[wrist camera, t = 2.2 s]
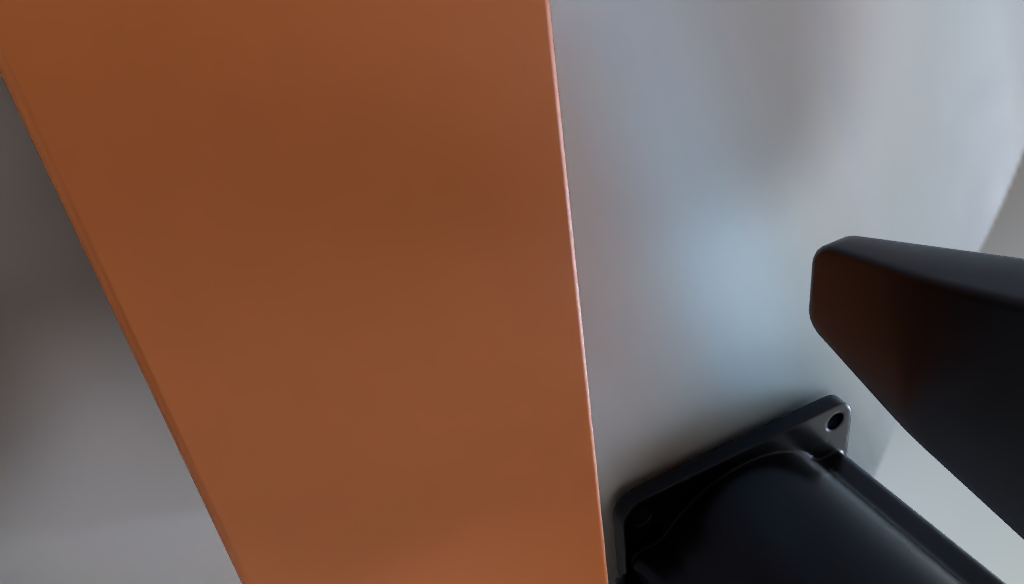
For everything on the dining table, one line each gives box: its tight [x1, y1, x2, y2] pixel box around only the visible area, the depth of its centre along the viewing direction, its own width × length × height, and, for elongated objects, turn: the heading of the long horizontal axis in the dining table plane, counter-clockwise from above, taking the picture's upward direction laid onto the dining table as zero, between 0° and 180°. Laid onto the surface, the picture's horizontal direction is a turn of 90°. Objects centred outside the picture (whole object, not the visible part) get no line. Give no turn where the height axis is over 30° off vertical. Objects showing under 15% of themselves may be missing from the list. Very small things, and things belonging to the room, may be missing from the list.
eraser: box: [0, 0, 608, 584], centre depth 10 cm, size 4×10×5 cm, turn 8°
